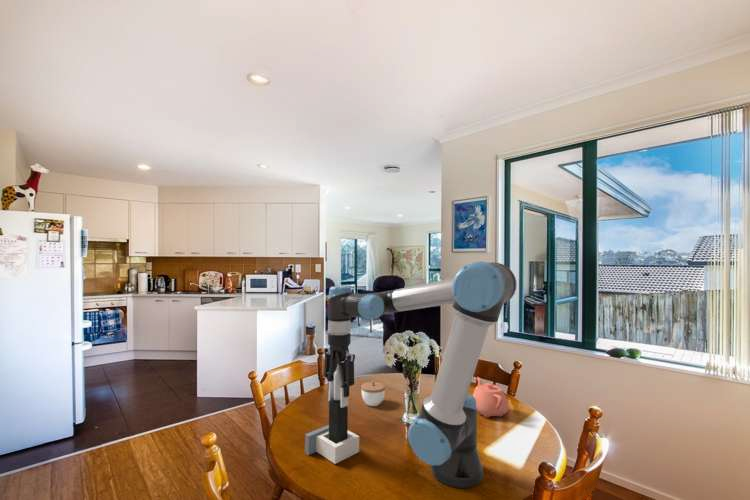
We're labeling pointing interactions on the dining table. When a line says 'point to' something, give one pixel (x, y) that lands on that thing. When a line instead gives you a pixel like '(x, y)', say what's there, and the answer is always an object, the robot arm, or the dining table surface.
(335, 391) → the candle
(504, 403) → the teapot
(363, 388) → the lidded jar
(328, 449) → the socket block
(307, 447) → the backstop wall
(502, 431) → the dining table surface
